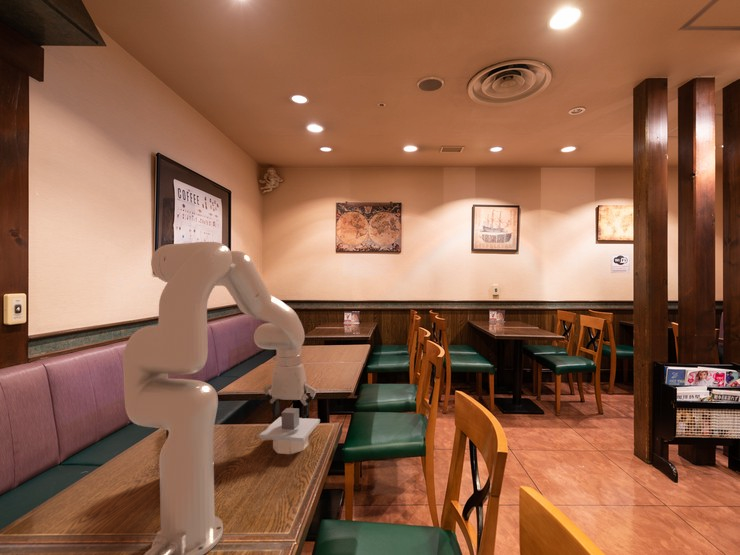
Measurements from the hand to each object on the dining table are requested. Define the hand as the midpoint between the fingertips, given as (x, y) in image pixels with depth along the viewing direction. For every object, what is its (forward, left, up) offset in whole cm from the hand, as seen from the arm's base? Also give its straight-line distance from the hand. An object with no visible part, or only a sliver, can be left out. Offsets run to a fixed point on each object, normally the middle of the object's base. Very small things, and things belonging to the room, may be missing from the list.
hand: (290, 416), depth 110 cm
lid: (0, 0, -4) cm, 4 cm away
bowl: (0, 0, -9) cm, 9 cm away
